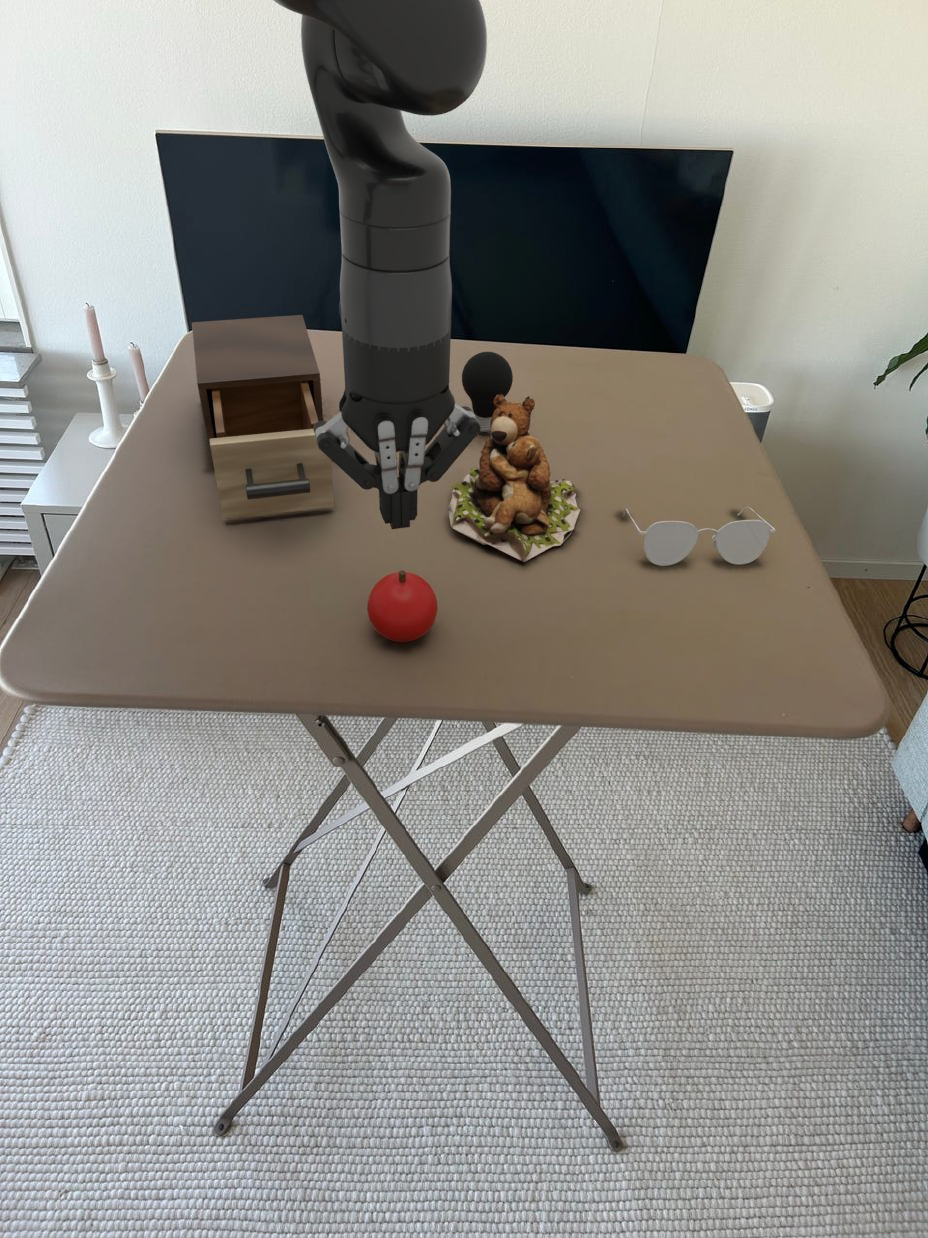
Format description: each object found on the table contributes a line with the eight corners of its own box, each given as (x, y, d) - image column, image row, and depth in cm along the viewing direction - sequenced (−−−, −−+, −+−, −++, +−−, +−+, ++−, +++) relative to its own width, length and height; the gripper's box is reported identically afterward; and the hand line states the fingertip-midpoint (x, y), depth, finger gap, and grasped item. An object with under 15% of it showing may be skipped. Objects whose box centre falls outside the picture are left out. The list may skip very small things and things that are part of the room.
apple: (387, 665, 77) (385, 604, 72) (357, 622, 81) (353, 562, 76) (449, 642, 79) (451, 582, 75) (417, 601, 83) (417, 542, 78)
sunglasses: (634, 566, 88) (641, 521, 86) (616, 527, 95) (621, 485, 93) (768, 564, 90) (779, 520, 87) (740, 525, 97) (749, 483, 94)
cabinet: (326, 458, 100) (319, 372, 93) (212, 470, 98) (197, 383, 90) (309, 396, 111) (302, 314, 103) (206, 405, 108) (191, 322, 101)
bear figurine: (423, 536, 91) (424, 432, 82) (481, 465, 101) (487, 366, 93) (547, 575, 87) (561, 470, 79) (594, 497, 97) (612, 397, 89)
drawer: (341, 531, 89) (336, 456, 83) (226, 545, 87) (212, 469, 81) (316, 439, 102) (311, 368, 96) (215, 449, 99) (203, 377, 93)
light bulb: (512, 424, 108) (520, 347, 101) (501, 448, 103) (507, 370, 97) (466, 416, 109) (470, 339, 102) (453, 439, 104) (456, 361, 98)
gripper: (307, 351, 56) (325, 562, 68) (504, 335, 59) (488, 539, 71) (292, 303, 62) (311, 506, 73) (474, 290, 64) (464, 487, 76)
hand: (398, 522), depth 72 cm, fingers closed
